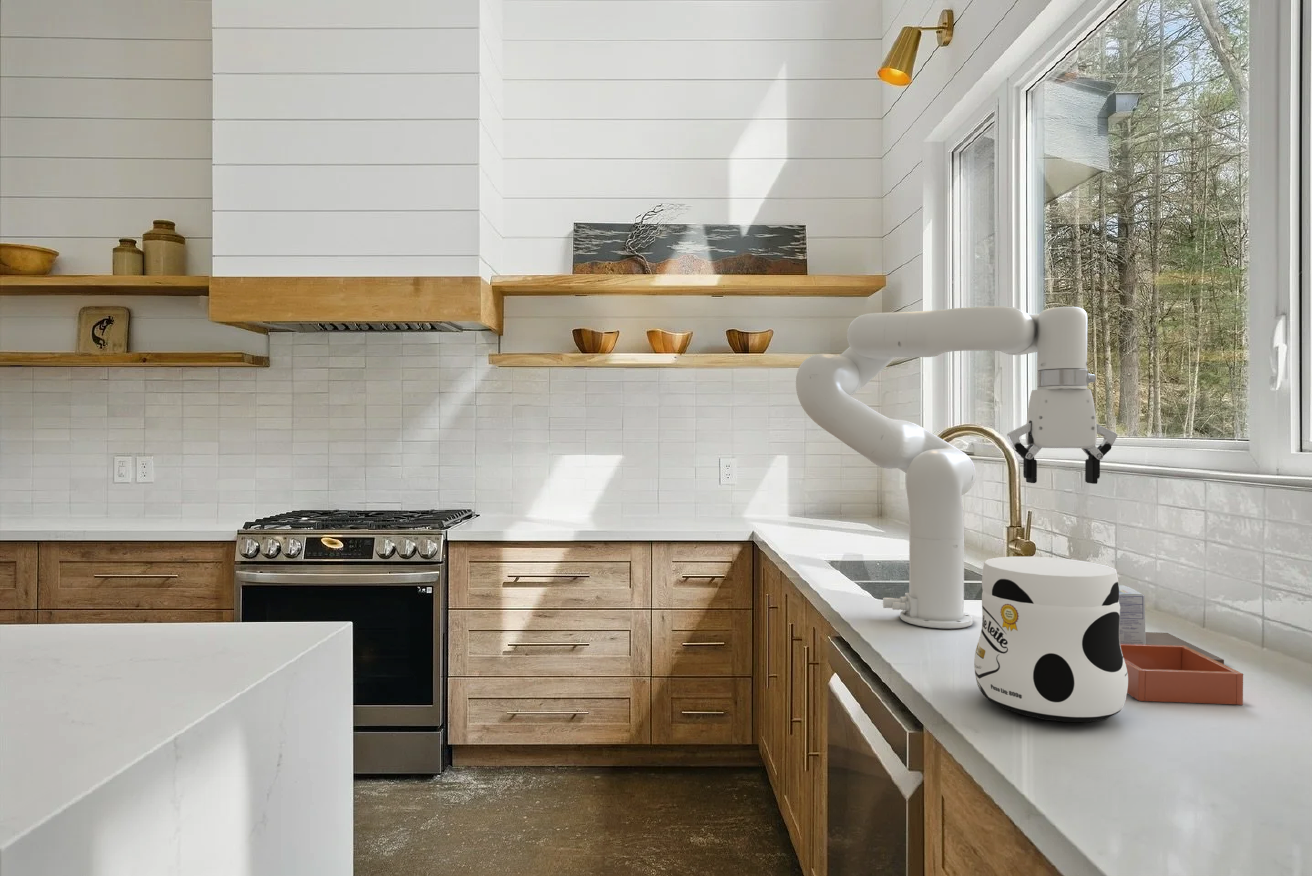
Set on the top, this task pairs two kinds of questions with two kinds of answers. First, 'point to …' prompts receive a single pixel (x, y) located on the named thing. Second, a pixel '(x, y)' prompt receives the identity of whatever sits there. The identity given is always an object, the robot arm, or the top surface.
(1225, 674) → the orange hollow square frame
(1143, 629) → the medicine box
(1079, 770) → the top surface
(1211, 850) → the top surface
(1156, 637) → the walnut board
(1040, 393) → the robot arm
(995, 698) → the milk container
